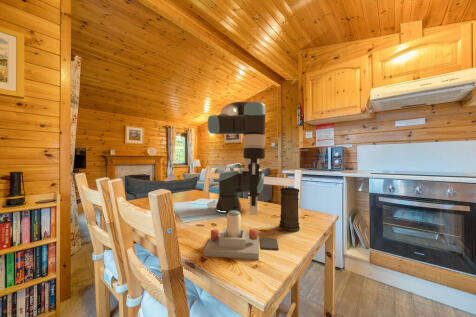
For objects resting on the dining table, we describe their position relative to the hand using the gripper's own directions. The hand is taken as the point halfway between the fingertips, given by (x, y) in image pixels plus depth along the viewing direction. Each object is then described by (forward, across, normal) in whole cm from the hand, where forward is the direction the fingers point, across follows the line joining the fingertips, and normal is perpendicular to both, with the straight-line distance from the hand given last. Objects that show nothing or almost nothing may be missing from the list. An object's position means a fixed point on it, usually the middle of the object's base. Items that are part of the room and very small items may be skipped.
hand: (253, 214), depth 67 cm
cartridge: (+10, 0, -7) cm, 13 cm away
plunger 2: (+9, 0, 0) cm, 9 cm away
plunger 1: (+10, 0, -14) cm, 17 cm away
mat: (+12, -4, +6) cm, 14 cm away
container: (+12, -21, +16) cm, 29 cm away
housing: (+12, 0, -7) cm, 14 cm away
